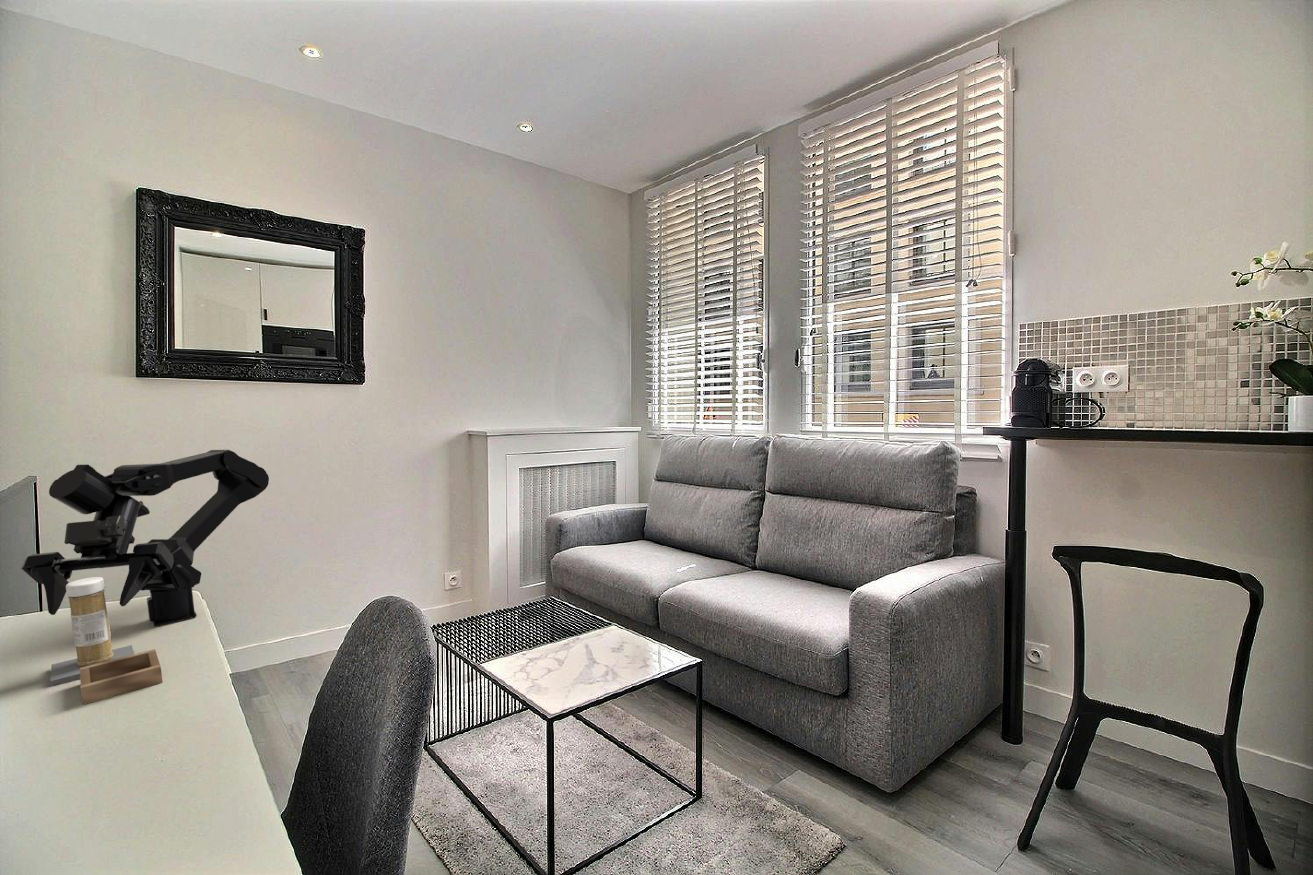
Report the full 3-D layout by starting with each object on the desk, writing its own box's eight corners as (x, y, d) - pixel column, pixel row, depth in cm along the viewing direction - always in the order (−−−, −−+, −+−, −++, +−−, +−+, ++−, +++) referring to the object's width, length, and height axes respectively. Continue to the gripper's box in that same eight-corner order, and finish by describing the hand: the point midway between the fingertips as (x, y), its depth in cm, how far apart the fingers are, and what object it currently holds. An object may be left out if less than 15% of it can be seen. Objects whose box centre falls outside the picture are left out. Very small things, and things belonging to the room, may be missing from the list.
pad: (132, 649, 108) (131, 644, 108) (135, 663, 103) (135, 659, 102) (52, 669, 102) (51, 664, 102) (50, 686, 96) (50, 681, 96)
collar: (156, 663, 102) (155, 648, 102) (162, 682, 96) (160, 666, 96) (82, 683, 96) (80, 667, 96) (82, 704, 90) (80, 687, 90)
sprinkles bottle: (116, 652, 106) (106, 574, 104) (111, 662, 102) (100, 581, 100) (79, 659, 103) (68, 579, 102) (73, 670, 99) (61, 587, 98)
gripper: (20, 506, 102) (-18, 594, 92) (158, 495, 107) (136, 577, 98) (55, 541, 110) (24, 626, 100) (182, 530, 116) (163, 609, 106)
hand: (87, 609), depth 101 cm, fingers open, 9 cm apart
